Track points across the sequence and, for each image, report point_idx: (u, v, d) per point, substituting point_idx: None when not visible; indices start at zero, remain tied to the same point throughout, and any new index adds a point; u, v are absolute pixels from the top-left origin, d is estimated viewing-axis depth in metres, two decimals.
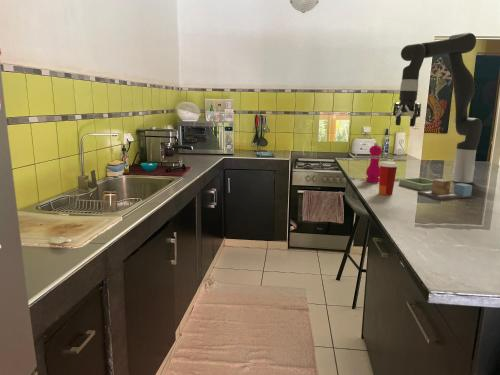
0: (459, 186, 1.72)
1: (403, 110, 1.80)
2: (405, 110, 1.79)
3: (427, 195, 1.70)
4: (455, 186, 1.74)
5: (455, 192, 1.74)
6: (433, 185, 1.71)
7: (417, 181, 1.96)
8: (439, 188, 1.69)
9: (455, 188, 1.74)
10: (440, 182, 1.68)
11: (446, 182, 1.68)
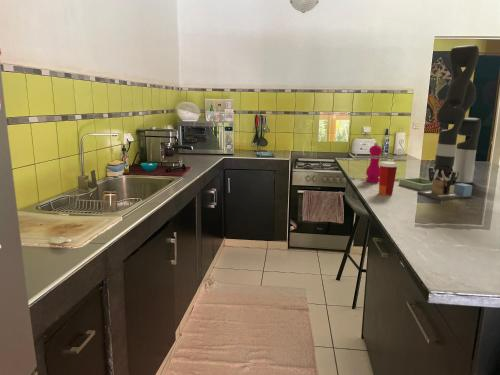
0: (459, 186, 1.72)
1: (439, 175, 1.70)
2: (441, 175, 1.69)
3: (427, 195, 1.70)
4: (455, 186, 1.74)
5: (455, 192, 1.74)
6: (433, 185, 1.71)
7: (417, 181, 1.96)
8: (439, 188, 1.69)
9: (455, 188, 1.74)
10: (440, 182, 1.68)
11: None
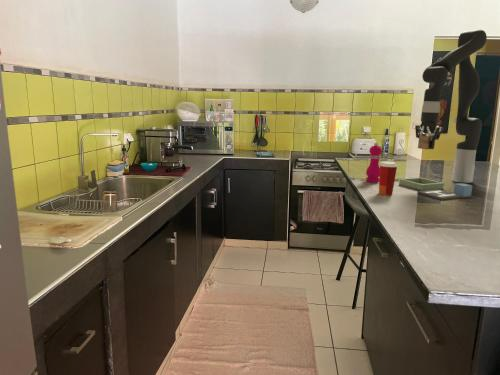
0: (459, 186, 1.72)
1: (424, 131, 1.83)
2: (427, 131, 1.82)
3: (427, 195, 1.70)
4: (455, 186, 1.74)
5: (455, 192, 1.74)
6: (419, 141, 1.85)
7: (417, 181, 1.96)
8: (425, 143, 1.82)
9: (455, 188, 1.74)
10: (425, 137, 1.81)
11: None
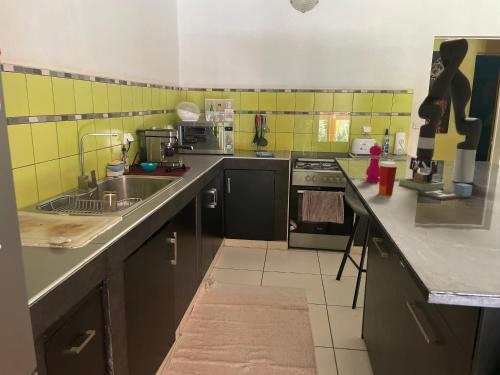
0: (459, 186, 1.72)
1: (420, 165, 1.87)
2: (422, 166, 1.86)
3: (427, 195, 1.70)
4: (455, 186, 1.74)
5: (455, 192, 1.74)
6: (414, 178, 1.89)
7: None
8: (420, 181, 1.86)
9: (455, 188, 1.74)
10: (421, 175, 1.85)
11: (426, 175, 1.85)
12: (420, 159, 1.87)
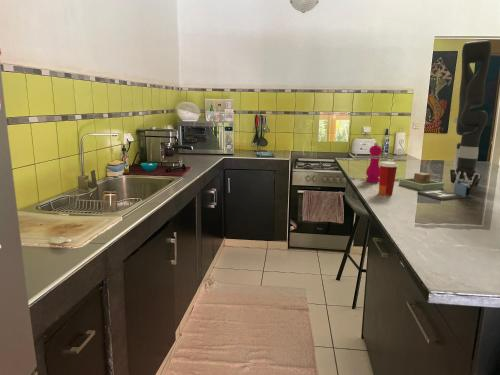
0: (459, 186, 1.72)
1: (461, 177, 1.73)
2: (463, 177, 1.71)
3: (427, 195, 1.70)
4: (455, 186, 1.74)
5: (455, 192, 1.74)
6: (414, 178, 1.89)
7: None
8: (420, 181, 1.86)
9: (455, 188, 1.74)
10: (421, 175, 1.85)
11: (426, 175, 1.85)
12: (461, 170, 1.72)
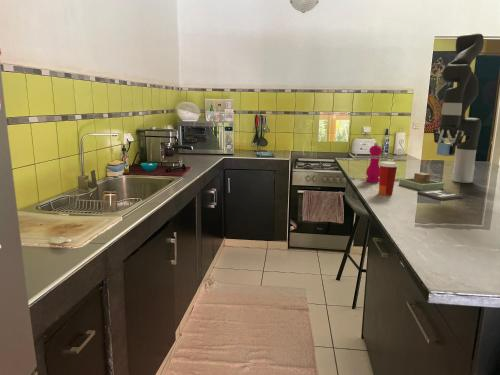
0: (442, 144, 1.66)
1: (444, 135, 1.66)
2: (447, 135, 1.65)
3: (427, 195, 1.70)
4: (438, 145, 1.68)
5: (438, 151, 1.68)
6: (414, 178, 1.89)
7: None
8: (420, 181, 1.86)
9: (438, 147, 1.68)
10: (421, 175, 1.85)
11: (426, 175, 1.85)
12: (444, 128, 1.66)
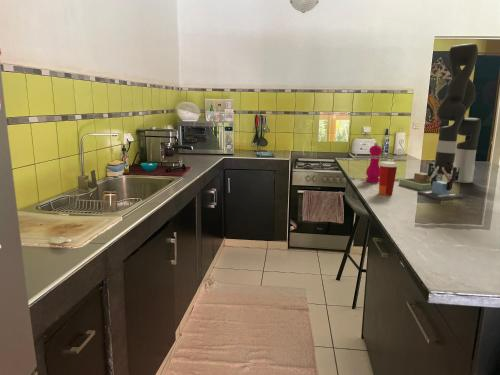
0: (437, 184, 1.70)
1: (439, 171, 1.70)
2: (442, 172, 1.69)
3: (427, 195, 1.70)
4: (433, 184, 1.71)
5: (433, 190, 1.72)
6: (414, 178, 1.89)
7: None
8: (420, 181, 1.86)
9: (433, 186, 1.71)
10: (421, 175, 1.85)
11: (426, 175, 1.85)
12: (439, 164, 1.69)
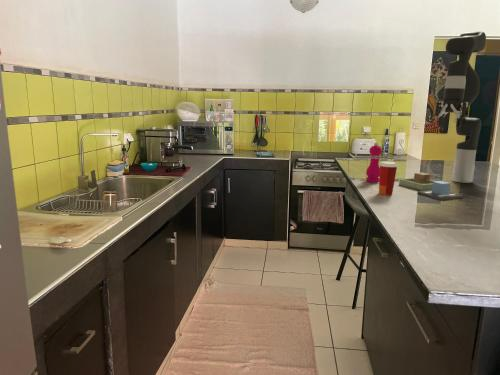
0: (437, 184, 1.70)
1: (448, 110, 1.64)
2: (450, 110, 1.63)
3: (427, 195, 1.70)
4: (433, 184, 1.71)
5: (433, 190, 1.72)
6: (414, 178, 1.89)
7: None
8: (420, 181, 1.86)
9: (433, 186, 1.71)
10: (421, 175, 1.85)
11: (426, 175, 1.85)
12: (448, 102, 1.64)
